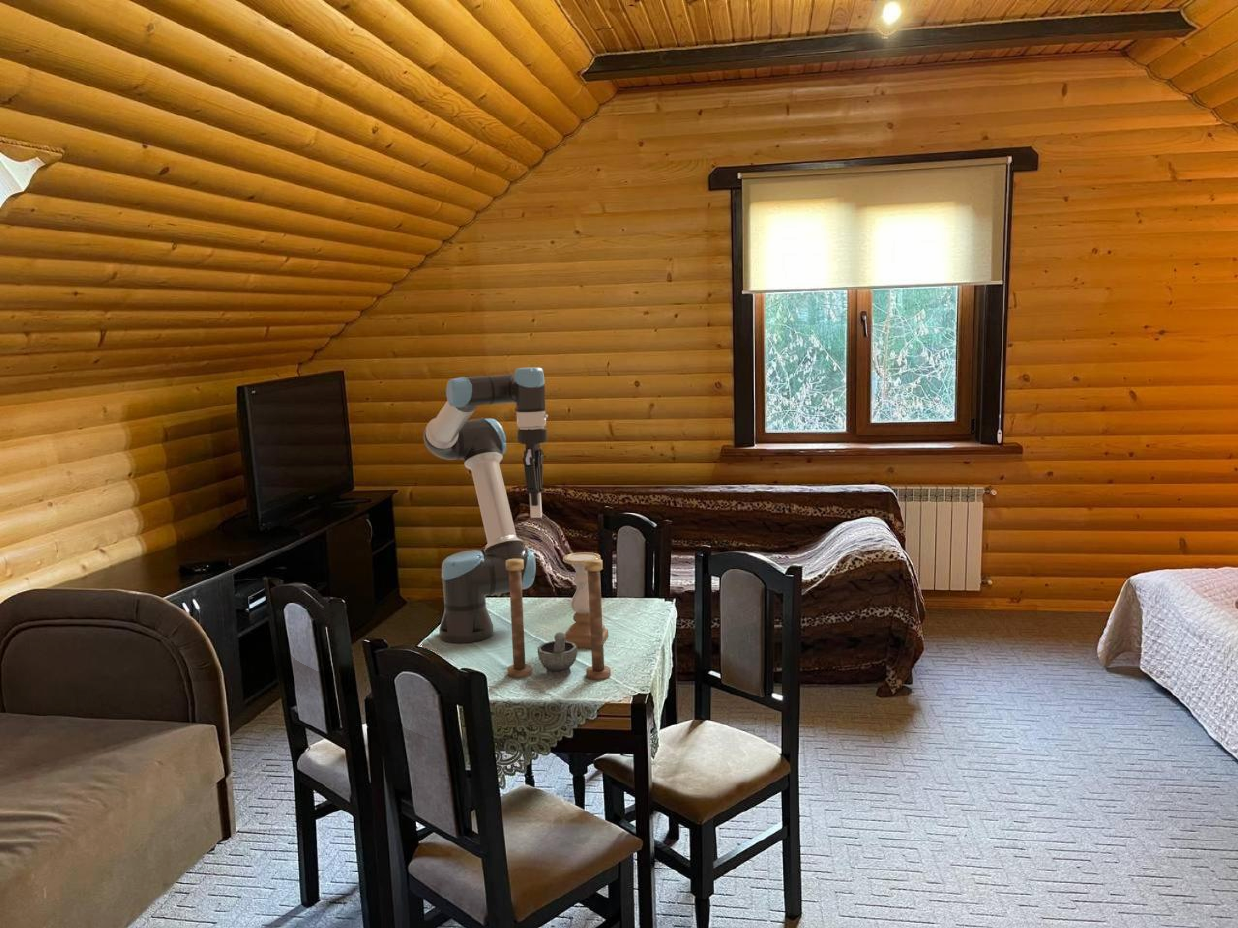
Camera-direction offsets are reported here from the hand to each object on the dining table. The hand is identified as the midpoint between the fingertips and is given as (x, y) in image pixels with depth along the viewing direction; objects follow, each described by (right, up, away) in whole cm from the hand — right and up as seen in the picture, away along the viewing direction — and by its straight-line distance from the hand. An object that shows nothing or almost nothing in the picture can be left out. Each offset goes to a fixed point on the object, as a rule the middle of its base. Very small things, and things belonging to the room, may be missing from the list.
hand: (536, 517), depth 245 cm
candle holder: (+12, -35, +11) cm, 39 cm away
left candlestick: (-3, -39, -11) cm, 40 cm away
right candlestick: (+17, -38, -14) cm, 44 cm away
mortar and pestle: (+7, -39, -13) cm, 41 cm away
